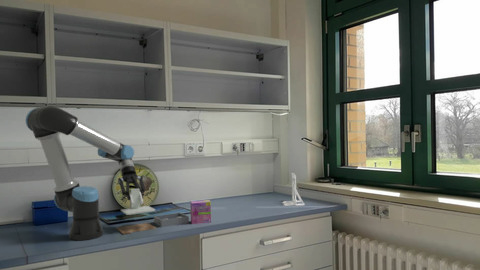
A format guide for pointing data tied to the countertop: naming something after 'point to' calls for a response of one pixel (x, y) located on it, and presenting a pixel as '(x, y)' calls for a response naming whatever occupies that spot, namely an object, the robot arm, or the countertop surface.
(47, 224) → the countertop surface
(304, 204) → the film strip holder
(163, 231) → the countertop surface
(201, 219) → the box
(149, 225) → the pad
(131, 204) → the robot arm
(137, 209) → the white t-shaped stand
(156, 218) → the tub
